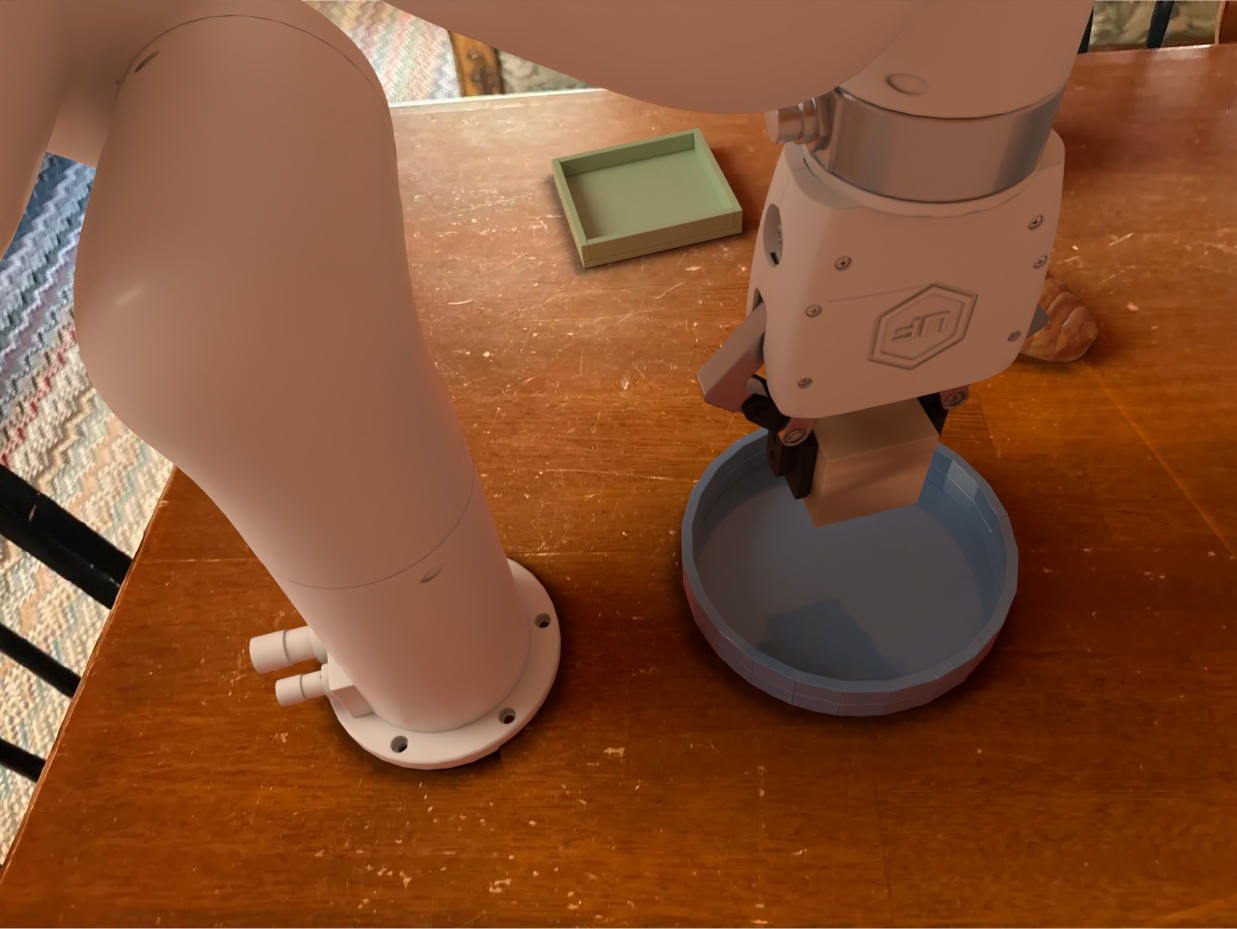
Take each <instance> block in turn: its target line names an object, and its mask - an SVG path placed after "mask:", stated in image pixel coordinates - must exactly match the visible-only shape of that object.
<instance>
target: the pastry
mask: <svg viewBox="0 0 1237 929" xmlns="http://www.w3.org/2000/svg"><path fill="white" fill-rule="evenodd" d="M1038 303H1039V305H1040V306H1041V307H1042V309H1043V310H1044V311H1045V312H1046V314H1047V315H1048V317H1049V321H1048V323H1047V324H1046V326H1044V327H1043V328H1042V329H1041V330H1039V331H1038V332H1036V333H1035V334H1033V335H1032V336H1030V337H1029V338H1028V339H1026V340H1025V341H1024V343H1023V345H1022V347H1021V350H1020V351H1019V353H1018V354H1023V355H1025V356H1029V357H1031V358H1035V359H1039V360H1042V361H1047V362H1048V361H1049V362H1063V363H1065V362H1074V361H1077V360H1078V359H1080V358H1081V357H1082V356H1083V355H1085V354H1086V353H1087V351H1089V349H1090V346H1092V344H1093V342H1094V341H1095V340H1096V338H1097V337H1098V335H1099V328H1098V327H1097V325H1096V319H1095V318H1094V317H1093V316H1092V314H1091V313H1090V311H1088V309H1087V308H1086V307H1085V304H1084V303H1085V302H1084V300H1083V299H1082V298H1081V297H1078V296H1077V295H1075V294H1072V293H1071V291H1070V289H1069V287H1068V284H1067V282H1065V281H1062V280H1059V279H1056V278H1055V276H1054V275H1053V273H1051V272H1050V270H1047V273H1046V277H1045V280H1044V284H1043V288H1042V291H1041V294H1040V298H1039V301H1038Z"/></svg>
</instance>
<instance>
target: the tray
mask: <svg viewBox="0 0 1237 929" xmlns="http://www.w3.org/2000/svg"><path fill="white" fill-rule="evenodd" d="M550 161H551V162H550V163H551V168H552V174H553V180H554V184H555V186H556V190H557V192H558V193H557V194H558V196H559V199H560V201H561V205H562V207H563V211H564V214H565V216H566V219H567V222H568V225H569V229H570V231H571V234H572V238H573V240H574V244H575V246H576V249H577V252H578V256H579V259H580V261H581V263H582V267H583V269H588V268H589V269H590V268H592V267H596V266H603V265H606V264H611V263H616V262H619V261H624V260H628V259H632V258H637V257H641V256H646V255H650V254H654V253H659V252H663V251H667V250H671V249H676V248H681V247H685V246H689V245H693V244H698V243H703V242H706V241H713V240H716V239H720V238H724V237H728V236H734V235H737V234H742V233H743V212H744V211H743V209H742V206H741V204H740V202H739V200H738V199H737V197H736V195H735V193H734V192H733V189H732V188H731V185H730V183H729V182H728V180H727V178H726V177H725V174H724V172H723V170H722V169H721V167H720V165H719V163H718V161H717V159H716V157H715V156H714V153H713V151H712V150H711V148H710V146H709V144H708V142H707V140H706V138H705V137H704V135H703V133H702V131H701V128H700V127H699V126H698V127H693V128H689V129H685V130H680V131H676V132H671V133H667V134H661V135H658V136H653V137H648V138H644V139H639V140H635V141H630V142H625V143H621V144H616V145H612V146H607V147H602V148H598V149H597V148H596V149H594V150H589V151H584V152H579V153H573V154H570V155H566V156H561V157H556V158H551V159H550Z"/></svg>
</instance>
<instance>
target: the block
mask: <svg viewBox="0 0 1237 929" xmlns="http://www.w3.org/2000/svg"><path fill="white" fill-rule="evenodd" d="M812 431H813V433H814V435H815V438H816V440H817V443H818V451H817V457H816V463H815V468H814V474H813V480H812V485H811V491H810V494H808V496H807V497H806V498H802V500H803V502H804V504H805V506H806V508H807V511H808V513H809V515H810V517H811V519H812V522H813V524H814V526H815V527H821V526H825V525H829V524H833V523H837V522H842V521H846V520H850V519H854V518H858V517H862V516H867V515H871V514H875V513H879V512H883V511H887V510H891V509H896V508H900V507H904V506H908V505H912V504H916V503H917V501H918V498H919V495H920V492H921V489H922V486H923V483H924V480H925V477H926V474H927V472H928V469H929V466H930V463H931V460H932V457H933V454H934V451H935V448H936V445H937V442H939V439H940V438H939V434H938V432H937V430H936V429H935V427H934V425H933V424H932V422H931V420H930V419H929V417H928V415H927V414H926V412H925V410H924V409H923V407H922V405H921V404H920V402H919V400H918V399H917V397H915V398H911V399H906V400H902V401H898V402H893V403H889V404H884V405H880V406H875V407H871V408H866V409H862V410H857V411H852V412H848V413H843V414H838V415H833V416H827V417H821V418H818V419H817V421H816V423H815V425H814V427H813V429H812Z"/></svg>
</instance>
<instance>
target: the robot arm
mask: <svg viewBox="0 0 1237 929" xmlns="http://www.w3.org/2000/svg"><path fill="white" fill-rule="evenodd" d="M381 2H384V3H385V4H388V5H390V6H391V7H393V8H396V9H398V10H400V11H402V12H405V13H407V14H409V15H410V16H411V15H412V16H413V17H416V18H418V19H421V20H423V21H425V22H428V23H430V24H432V25H435V26H437V27H439V28H442V29H443V30H447V31H449V32H451V33H453V34H454V33H455V34H457V35H460V36H463V37H465V38H468V39H471V40H473V41H476V42H479V43H482V44H484V45H487V46H489V47H491V48H494V49H496V50H498V51H501V52H504V53H506V54H508V55H511V56H514V57H517V58H520V59H522V60H525V61H528V62H530V63H532V64H536V65H539V66H541V67H544V68H546V69H549V70H552V71H554V72H557V73H560V74H563V75H565V76H569V77H570V78H573V79H576V80H579V81H581V82H584V83H587V84H590V85H593V86H595V87H597V88H598V87H599V88H601V89H603V90H606V91H609V92H612V93H615V94H618V95H621V96H624V97H627V98H631V99H634V100H637V101H641V102H645V103H648V104H653V105H656V106H661V107H665V108H669V109H673V110H679V111H684V112H685V111H686V112H694V113H704V114H712V115H721V116H724V115H726V116H727V115H749V114H763V113H764V126H765V131H766V134H767V135H766V136H767V138H768V140H769V142H770V143H771V144H772V145H773V146H776V145H781V144H784V145H783V146H782V147H783V148H782V150H781V153H780V154H779V155H780V156H779V158H778V161H777V163H776V166H775V169H774V173H773V175H772V178H771V181H770V182H771V183H770V185H769V188H768V191H767V194H766V198H765V202H764V206H763V210H762V214H761V218H760V221H759V226H758V231H757V236H756V240H755V245H754V251H753V252H754V253H753V256H752V261H751V262H752V263H751V269H750V274H749V283H748V290H747V297H746V306H745V307H746V309H745V319H744V320H743V321H742V322H741V324H740V325H739V326H738V327H737V328H736V329H735V330H734V331H733V332H732V334H730V335H729V337H728V338H727V339H726V340H725V341H724V342H723V343H722V344H721V346H720V347H719V348H717V349H716V351H715V352H714V353H713V354H712V355H711V356H710V357H709V358H708V360H707V361H706V362H705V363H704V364H703V365H702V366H701V367H700V368H699V370H697V372H696V374H695V377H694V378H695V381H696V383H697V386H698V388H699V391H700V393H701V396H702V398H703V401H704V402H705V403H706V404H708V405H710V406H713V407H717V408H718V409H722V410H725V411H728V412H731V413H736V412H737V413H740V414H743V415H744V418H745V419H746V420H747V421H748V422H750V423H752V424H755V425H757V426H759V427H760V428H762V427H763V428H765V429H767V430H768V436H767V445H766V454H767V459H768V462H769V465H770V468H771V470H772V472H773V474H774V476H775V477H780V476H784V477H785V479H786V481H787V483H788V485H789V488H790V490H791V492H792V494H793V497H794V498H795V500H797V499H802V498H806V497H807V496H808V494H810V491H811V485H812V480H813V474H814V468H815V463H816V457H817V451H818V443H817V440H816V438H815V435H814V433H813V431H812V429H813V427H814V425H815V423H816V421H817V419H818V418H821V417H827V416H833V415H838V414H843V413H848V412H852V411H857V410H862V409H866V408H871V407H875V406H880V405H884V404H889V403H893V402H898V401H902V400H906V399H911V398H915V397H917V399H918V400H919V402H920V404H921V405H922V407H923V409H924V410H925V412H926V414H927V415H928V417H929V419H930V420H931V422H932V424H933V425H934V427H935V429H936V430H937V432H938V434H939V439H940V438H941V436H942V432H943V429H944V426H945V424H946V420H947V417H948V415H949V412H950V410H955V409H958V408H959V407H961V406H962V405H964V404H965V403H966V401H968V399H969V397H970V396H969V395H970V391H969V389H970V388H969V386H971V385H972V384H975V383H980V382H982V381H985V380H988V379H990V378H992V377H995V376H996V375H999V374H1000V373H1002V372H1004V371H1005V370H1007V369H1008V368H1009V367H1010V366H1011V365H1012V364H1013V363H1014V362H1015V360H1016V359H1017V357H1018V356H1019V354H1020V353H1019V351H1020V350H1021V347H1022V345H1023V343H1024V341H1025V340H1026V339H1028V338H1029V337H1030V336H1032V335H1033V334H1035V333H1036V332H1038V331H1039V330H1041V329H1042V328H1043V327H1044V326H1046V324H1047V323H1048V321H1049V317H1048V315H1047V314H1046V312H1045V311H1044V310H1043V309H1042V307H1041V306H1040V305H1039V303H1038V301H1039V298H1040V294H1041V291H1042V288H1043V284H1044V280H1045V277H1046V273H1047V270H1048V269H1049V266H1050V261H1051V257H1052V254H1053V250H1054V247H1055V246H1054V245H1055V240H1056V236H1057V230H1058V225H1059V219H1060V213H1061V205H1062V198H1063V196H1062V195H1063V184H1064V176H1065V174H1064V173H1065V160H1066V158H1065V157H1066V147H1065V144H1064V141H1063V139H1062V138H1061V136H1060V135H1059V134H1058V132H1056V131H1055V129H1053V126H1054V122H1055V120H1056V118H1057V114H1058V111H1059V109H1060V106H1061V103H1062V100H1063V96H1064V93H1065V91H1066V88H1067V85H1068V82H1069V79H1070V76H1071V74H1072V70H1073V66H1074V63H1075V60H1076V57H1077V54H1078V52H1079V49H1080V46H1081V44H1082V40H1083V37H1084V35H1085V33H1086V32H1085V31H1086V29H1087V26H1088V23H1089V21H1090V18H1091V15H1092V12H1093V8H1094V6H1095V2H1096V0H381ZM391 114H392V113H391V110H390V106H389V102H388V99H387V96H386V93H385V90H384V87H383V85H382V82H381V80H380V79H379V76H378V74H377V72H376V70H375V68H374V67H373V66H372V64H371V63H370V61H369V59H368V58H367V56H366V55H365V53H364V52H363V51H362V50H361V49H360V47H359V46H358V45H357V44H356V43H355V41H354V40H353V39H351V37H349V35H347V33H346V32H344V31H343V29H341V27H339V26H338V25H337V24H335V22H333V21H332V20H330V19H329V18H328V17H327V16H326V15H324V14H323V13H321V12H320V11H318V10H317V9H316V8H315V7H313V6H311V5H309V3H306V2H305V1H303V0H0V263H1V262H2V261H3V258H4V257H5V254H6V253H7V251H8V250H9V248H10V247H11V244H12V242H13V239H14V237H15V234H16V232H17V230H18V228H19V227H20V226H19V225H20V223H21V221H22V218H23V216H24V214H25V211H26V209H27V206H28V204H29V202H30V200H31V197H32V194H33V192H34V188H35V185H36V183H37V181H38V178H39V175H40V171H41V168H42V165H43V162H44V159H45V156H46V153H48V154H49V153H50V154H52V155H55V156H58V157H60V158H64V159H67V160H71V161H73V162H75V163H79V164H82V165H85V166H88V167H91V168H94V169H95V174H94V177H93V180H92V181H93V182H92V185H91V189H90V193H89V197H88V201H87V204H86V209H85V212H84V217H83V221H82V225H81V229H80V233H79V239H78V244H77V249H76V255H75V265H74V274H73V285H72V293H73V294H72V295H73V296H72V298H73V300H72V301H73V323H74V330H75V331H74V332H75V336H76V341H77V346H78V350H79V353H80V356H81V360H82V362H83V366H84V368H85V371H86V373H87V376H88V377H89V380H90V382H91V384H92V386H93V388H94V390H95V391H96V392H97V394H98V396H99V397H100V399H101V400H102V401H103V403H104V404H105V405H106V406H107V408H108V409H109V410H110V412H111V413H112V414H113V415H114V417H116V418H117V419H118V420H119V421H120V422H121V423H122V424H123V425H124V426H125V427H126V428H127V429H128V430H129V431H131V432H132V433H133V434H134V435H136V436H137V438H139V439H140V440H142V441H143V442H144V443H146V444H147V445H148V446H150V447H151V448H152V449H153V450H155V451H156V452H158V453H159V454H160V455H161V456H163V458H165V459H167V460H168V461H169V462H171V463H172V464H173V465H175V466H176V467H177V468H178V469H179V470H180V471H181V472H182V473H184V474H185V475H186V476H187V477H189V479H191V480H192V481H193V482H194V483H195V484H196V486H198V487H199V488H200V489H201V491H203V492H204V494H206V495H207V496H208V497H209V498H210V500H211V501H212V502H213V504H215V505H216V507H217V508H218V509H219V510H220V511H221V512H222V514H224V516H225V517H226V518H227V519H228V521H229V522H230V523H231V524H232V526H233V527H234V528H235V529H236V531H237V532H238V533H239V536H240V537H242V539H243V540H244V541H245V543H246V544H247V546H248V547H249V548H250V549H251V551H252V552H253V554H254V555H255V556H256V557H257V559H258V560H259V561H260V563H262V565H263V566H264V567H265V569H266V570H267V571H268V573H269V574H270V576H271V577H272V578H273V580H274V581H275V582H276V584H277V585H278V586H279V587H280V589H281V590H282V592H283V593H284V594H285V596H286V597H287V598H288V600H289V601H290V603H291V604H292V605H293V607H294V608H295V609H296V611H297V612H298V613H299V615H300V616H301V617H302V619H303V620H304V621H305V623H306V624H307V625H304V626H300V627H295V628H293V629H283V630H277V631H274V632H270V633H266V634H262V635H258V636H254V637H251V638H250V641H249V655H250V660H251V664H252V666H253V667H252V668H253V669H254V670H255V672H256V673H257V674H259V675H262V674H266V673H269V672H273V671H277V670H281V669H285V668H289V667H293V666H294V665H295V664H299V663H301V662H305V661H309V660H313V659H317V661H318V663H319V664H322V665H321V667H320V670H317V671H313V672H309V673H305V674H303V673H300V674H297V675H293V676H288V677H285V678H281V679H278V680H276V682H275V687H274V688H275V697H276V699H277V702H278V704H279V706H280V707H282V708H285V707H289V706H294V705H297V704H301V703H304V702H308V701H309V700H311V699H315V698H318V697H323V696H326V698H327V699H328V700H329V703H330V705H331V707H332V709H333V711H334V714H335V716H336V718H337V720H338V722H339V723H340V724H341V725H342V727H343V728H344V729H345V731H346V732H347V733H348V735H349V736H350V737H351V738H352V739H353V740H354V741H355V742H356V743H357V744H358V745H359V746H360V747H361V748H362V749H364V751H367V752H368V753H370V754H372V755H373V756H375V757H377V758H378V759H380V760H381V761H383V762H386V763H390V764H393V765H396V766H399V767H402V768H407V769H416V770H424V771H429V770H441V769H452V768H455V767H458V766H463V765H467V764H469V763H470V764H471V763H474V762H476V761H478V760H480V759H482V758H484V757H487V756H489V755H490V754H493V753H495V752H497V751H498V750H500V746H502V745H504V744H505V743H507V742H508V741H509V740H511V739H512V738H514V736H516V735H517V734H518V733H519V732H520V731H522V729H523V728H524V727H525V726H526V725H527V724H528V723H529V722H530V721H531V720H532V719H533V718H534V717H535V715H536V714H537V712H538V711H539V709H541V707H542V705H543V704H544V702H545V701H546V699H547V697H548V695H549V693H550V691H551V689H552V687H553V684H554V682H555V680H556V676H557V673H558V668H559V666H560V660H561V651H562V650H561V648H562V634H561V629H560V623H559V619H558V615H557V612H556V609H555V606H554V603H553V601H552V600H551V598H550V596H549V594H548V592H547V590H546V588H545V587H544V586H543V584H542V583H541V582H540V581H539V580H538V579H537V578H536V576H535V575H534V573H532V572H531V571H530V570H528V569H527V568H526V567H524V566H522V565H521V564H520V563H519V562H518V561H515V560H513V559H511V558H510V557H507V554H506V552H505V549H504V546H503V544H502V541H501V537H500V535H499V532H498V528H497V525H496V522H495V520H494V516H493V514H492V511H491V508H490V505H489V502H488V498H487V496H486V493H485V489H484V487H483V484H482V481H481V479H480V475H479V472H478V470H477V467H476V463H475V460H474V458H473V455H472V452H471V449H470V446H469V444H468V441H467V438H466V434H465V432H464V429H463V426H462V423H461V420H460V418H459V415H458V411H457V410H456V407H455V405H454V402H453V399H452V397H451V394H450V392H449V390H448V388H447V385H446V383H445V381H444V379H443V378H442V375H441V374H440V372H439V370H438V368H437V366H436V364H435V363H434V360H433V359H432V355H431V354H430V352H429V349H428V346H427V343H426V339H425V337H424V332H423V329H422V326H421V321H420V318H419V317H420V316H419V313H418V308H417V305H416V300H415V295H414V291H413V285H412V278H411V275H410V267H409V260H408V252H407V245H406V235H405V233H406V232H405V222H404V221H405V220H404V209H403V203H402V198H401V194H400V180H399V170H398V158H397V157H398V156H397V148H396V147H397V144H396V141H395V140H396V139H395V132H394V124H393V119H392V115H391ZM1048 271H1049V270H1048ZM762 366H764V372H765V378H764V377H763V376H760V375H758V374H757V372H758V371H759V370H760V368H761V367H762ZM543 623H547V624H548V625H547V626H546V627H541V624H543ZM509 716H510V717H512V718H513V720H512V722H509V723H506V722H505V719H506V718H507V717H509ZM404 747H406V748H405V749H404V750H403V751H401V750H402V748H404Z"/></svg>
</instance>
